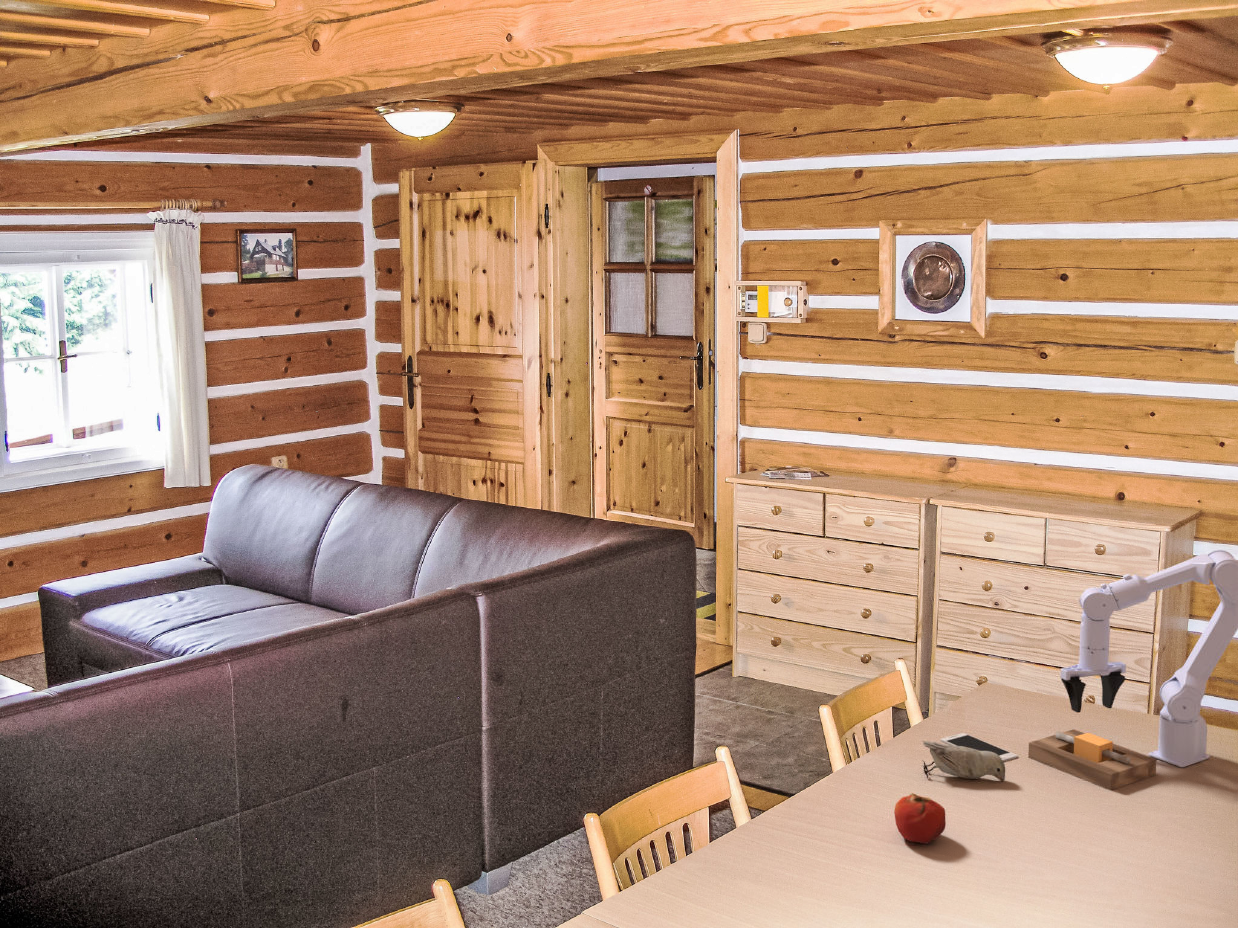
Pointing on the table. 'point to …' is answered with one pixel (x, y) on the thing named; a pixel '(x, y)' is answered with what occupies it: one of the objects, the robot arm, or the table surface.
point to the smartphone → (977, 745)
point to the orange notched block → (1092, 747)
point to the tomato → (919, 818)
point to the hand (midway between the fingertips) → (1091, 708)
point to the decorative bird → (965, 761)
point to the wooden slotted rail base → (1106, 774)
